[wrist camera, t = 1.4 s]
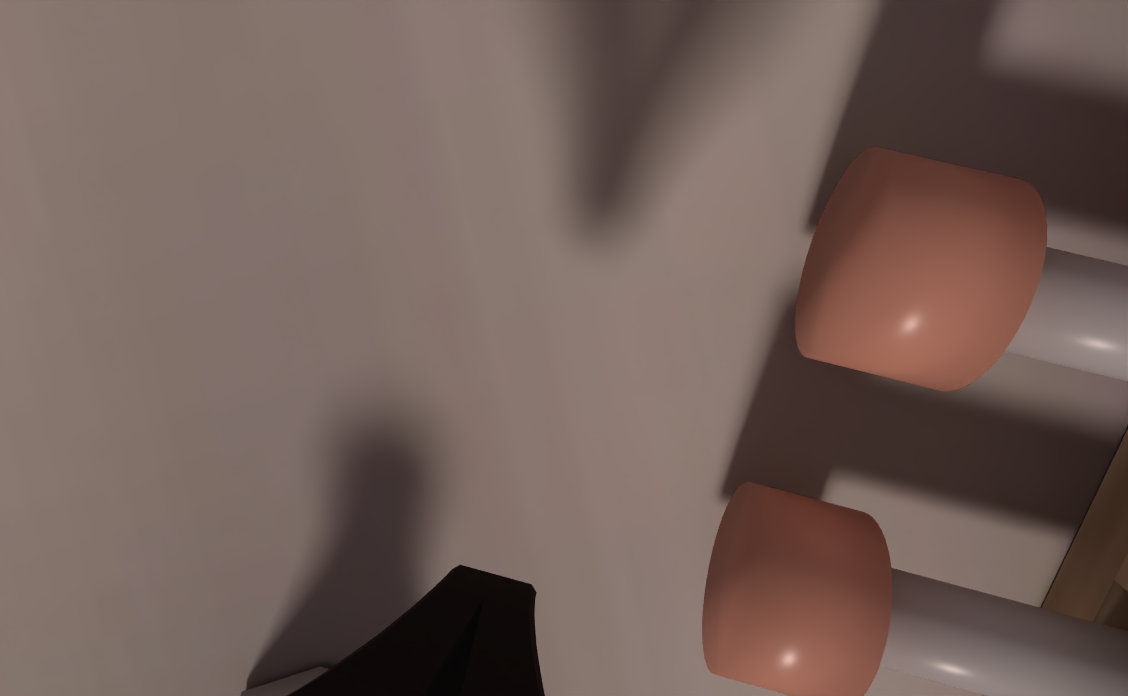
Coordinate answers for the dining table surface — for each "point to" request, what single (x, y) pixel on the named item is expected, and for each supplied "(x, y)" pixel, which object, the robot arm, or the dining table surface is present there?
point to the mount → (1099, 555)
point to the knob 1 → (951, 278)
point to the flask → (285, 684)
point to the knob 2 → (876, 614)
